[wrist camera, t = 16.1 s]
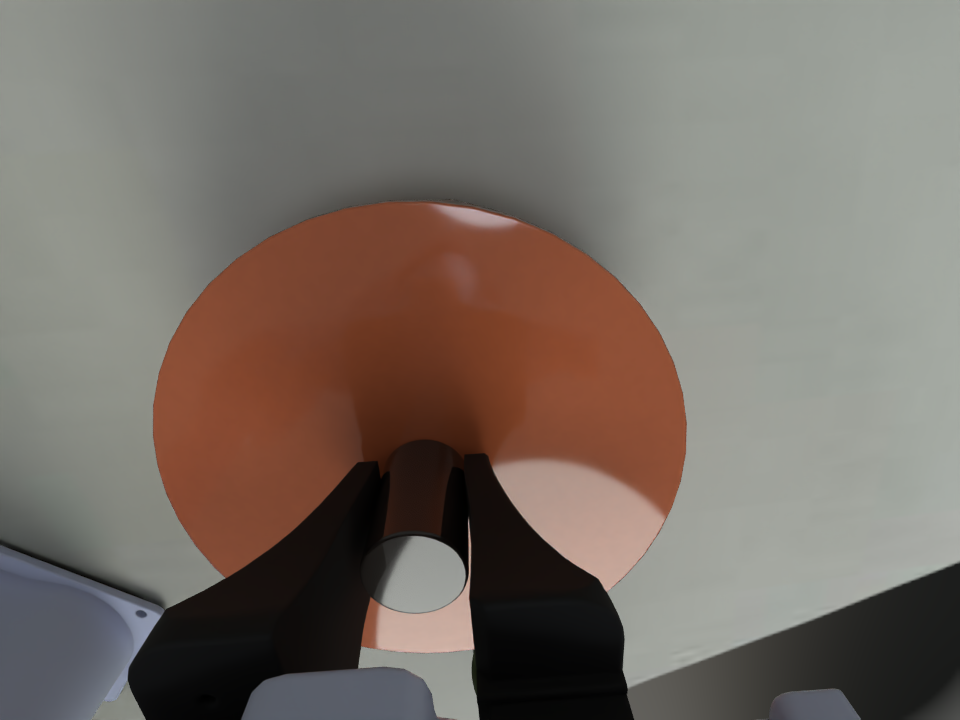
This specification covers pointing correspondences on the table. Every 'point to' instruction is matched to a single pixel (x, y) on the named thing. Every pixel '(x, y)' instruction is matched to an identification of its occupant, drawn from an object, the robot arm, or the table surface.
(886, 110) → the table surface
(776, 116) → the table surface
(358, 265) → the lid
